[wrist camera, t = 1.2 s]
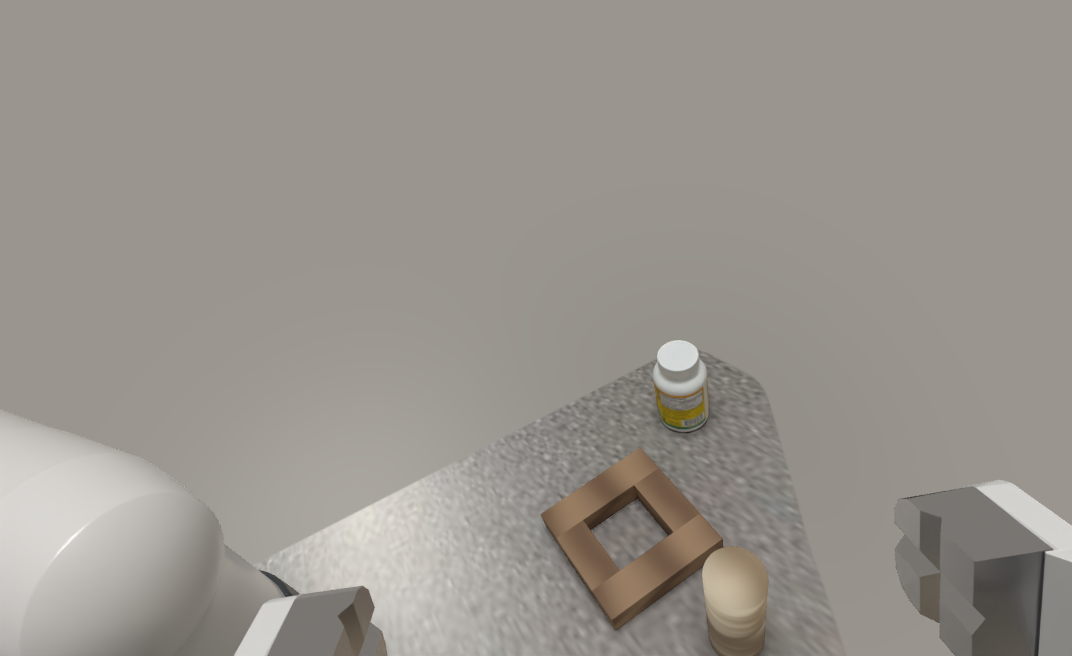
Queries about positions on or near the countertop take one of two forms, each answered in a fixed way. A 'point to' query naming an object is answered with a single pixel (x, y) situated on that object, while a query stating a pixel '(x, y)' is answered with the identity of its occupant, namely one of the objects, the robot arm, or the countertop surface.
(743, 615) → the dowel
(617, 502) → the socket block
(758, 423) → the countertop surface
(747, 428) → the countertop surface
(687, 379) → the supplement bottle
